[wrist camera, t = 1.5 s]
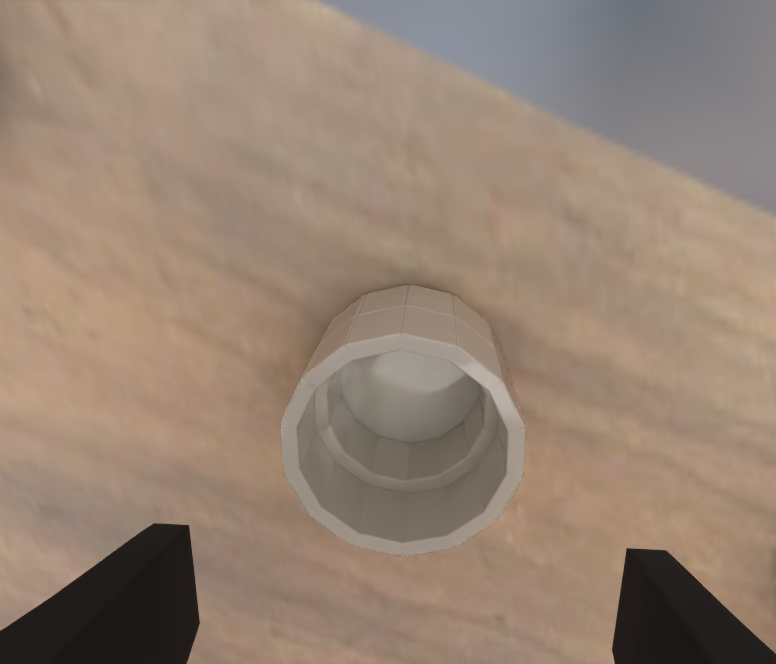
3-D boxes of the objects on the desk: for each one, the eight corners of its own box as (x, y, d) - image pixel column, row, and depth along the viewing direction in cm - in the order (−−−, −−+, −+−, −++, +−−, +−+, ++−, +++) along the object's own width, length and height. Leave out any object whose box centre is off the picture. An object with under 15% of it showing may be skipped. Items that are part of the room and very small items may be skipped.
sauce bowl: (321, 454, 21) (288, 553, 16) (313, 279, 19) (272, 332, 14) (499, 459, 21) (518, 561, 16) (507, 280, 19) (531, 334, 14)
